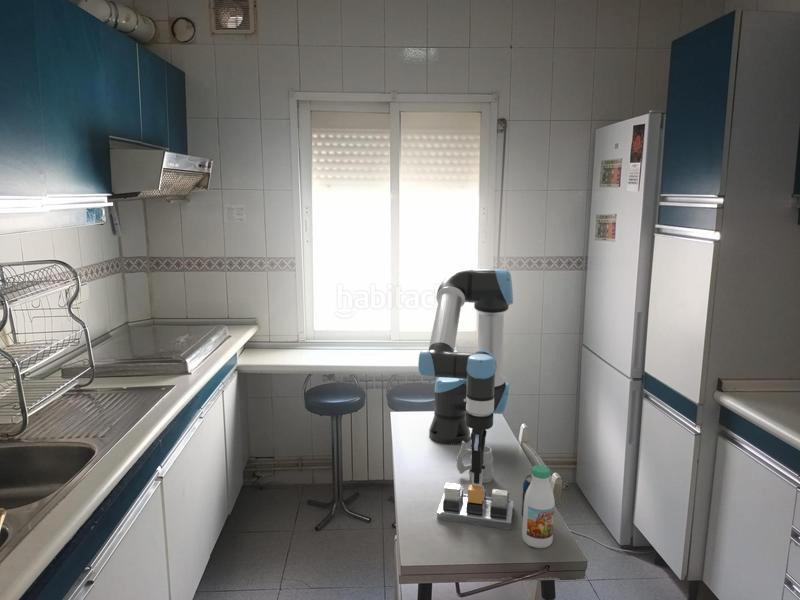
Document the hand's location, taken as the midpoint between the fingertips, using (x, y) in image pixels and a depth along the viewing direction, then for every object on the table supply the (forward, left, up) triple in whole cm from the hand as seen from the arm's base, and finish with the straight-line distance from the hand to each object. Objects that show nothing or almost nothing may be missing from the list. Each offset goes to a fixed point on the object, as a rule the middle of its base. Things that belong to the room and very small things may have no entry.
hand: (476, 491), depth 162 cm
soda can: (-1, +16, -7) cm, 18 cm away
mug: (-22, -3, -7) cm, 23 cm away
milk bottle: (+9, +17, -7) cm, 20 cm away
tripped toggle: (+2, 0, -2) cm, 3 cm away
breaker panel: (-1, 0, -7) cm, 7 cm away
